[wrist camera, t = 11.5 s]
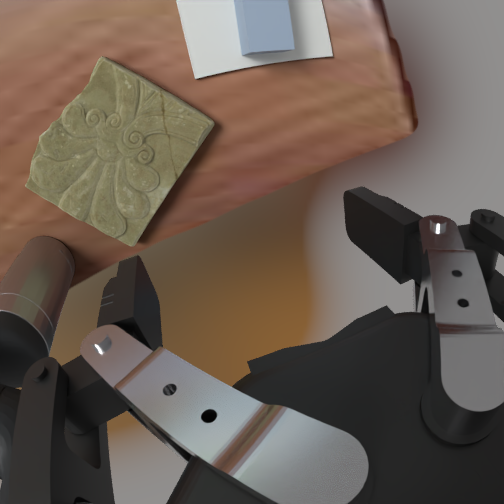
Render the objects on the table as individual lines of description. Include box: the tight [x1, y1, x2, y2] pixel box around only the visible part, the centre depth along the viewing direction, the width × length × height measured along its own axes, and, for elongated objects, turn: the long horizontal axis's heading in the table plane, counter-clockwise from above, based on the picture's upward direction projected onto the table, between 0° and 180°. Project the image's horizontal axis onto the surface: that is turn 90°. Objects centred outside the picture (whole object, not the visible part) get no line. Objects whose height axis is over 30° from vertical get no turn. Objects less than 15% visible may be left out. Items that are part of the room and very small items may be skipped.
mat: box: [176, 0, 333, 79], centre depth 32 cm, size 19×15×1 cm
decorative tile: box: [26, 56, 215, 246], centre depth 35 cm, size 19×20×4 cm
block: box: [234, 0, 295, 56], centre depth 30 cm, size 12×6×4 cm, turn 7°
